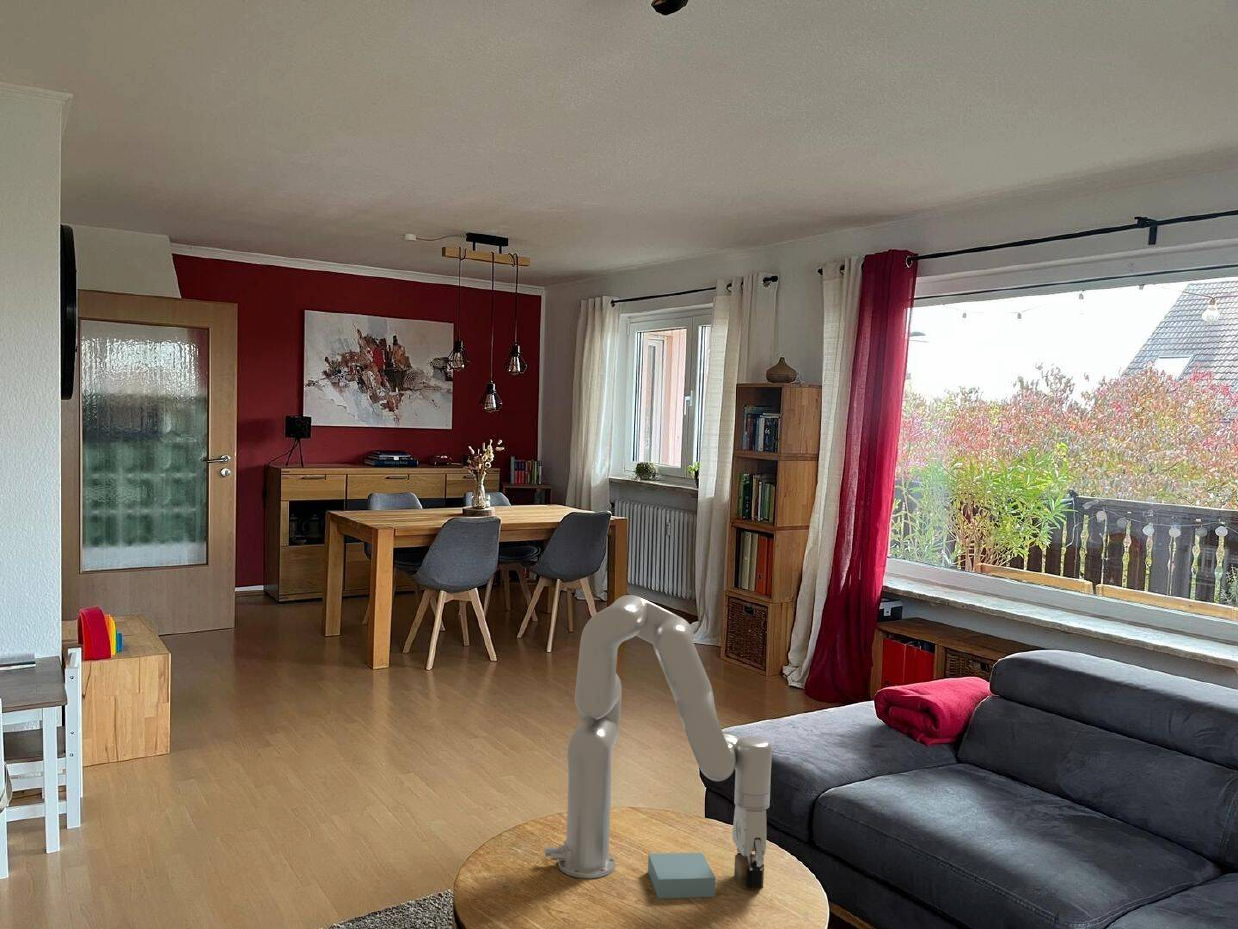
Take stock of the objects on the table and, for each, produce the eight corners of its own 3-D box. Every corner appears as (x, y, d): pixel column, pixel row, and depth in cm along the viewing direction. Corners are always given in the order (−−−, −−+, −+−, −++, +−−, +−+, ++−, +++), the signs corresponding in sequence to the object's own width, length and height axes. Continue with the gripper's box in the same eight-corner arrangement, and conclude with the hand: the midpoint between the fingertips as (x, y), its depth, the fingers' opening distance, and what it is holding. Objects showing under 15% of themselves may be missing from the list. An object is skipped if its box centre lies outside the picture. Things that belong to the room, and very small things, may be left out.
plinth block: (657, 898, 193) (658, 879, 193) (647, 872, 205) (648, 854, 205) (714, 897, 195) (715, 878, 194) (701, 870, 206) (702, 852, 206)
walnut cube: (740, 888, 199) (741, 865, 199) (734, 877, 204) (735, 855, 204) (763, 887, 200) (764, 864, 200) (756, 877, 205) (757, 854, 205)
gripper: (724, 783, 209) (721, 861, 210) (746, 814, 192) (742, 899, 193) (757, 782, 211) (754, 861, 211) (781, 813, 193) (778, 898, 194)
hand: (748, 878), depth 202 cm, fingers open, 6 cm apart
